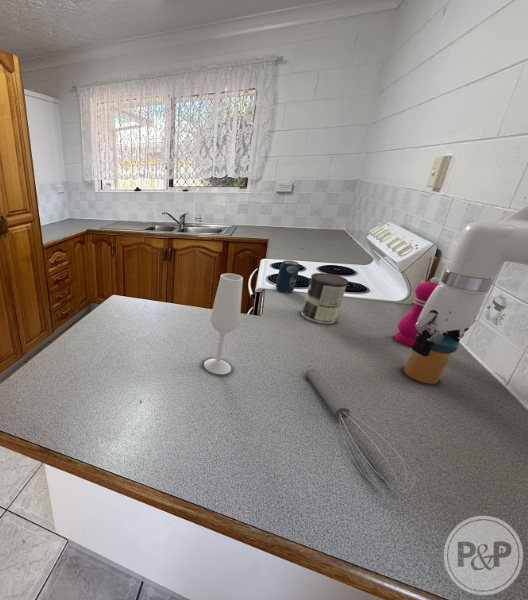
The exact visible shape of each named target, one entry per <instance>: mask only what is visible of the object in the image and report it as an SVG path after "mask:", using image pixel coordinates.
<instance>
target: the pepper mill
mask: <svg viewBox="0 0 528 600" xmlns="http://www.w3.org/2000/svg"><path fill="white" fill-rule="evenodd" d="M439 284H440V278H438V277H436V276H435V277H432V278H430V281H424V282H421V283H419V284H418V285H417V286H416V288H415V290H414V293H415V295H416V296H415V297H414V299H413V300H412V302H413V307H412V308H411V310H410V311H409V312H408V313H407V314H406V315H405V316H404V317H402V318H401V319H400V320H399V321H398V323H397V329H398V331H397V332H396V334H395V337H394V339H395V340H396V341H397V342H398V343H400V344H403V345H405V346H410V347H413V345H414V343H415V341H416V338H417V332H416V327H415V324H416V323H417V322H418V318H419V316H420V314H421V312H422V310H423V308H424V306H425V304H426V302H427V300H428V299H429V297H430V295H431V294H432V292H433V291H434V289H435V288H436V287H437V286H438V285H439ZM430 326H432V324H431V325H430ZM427 331H428V332H432V330H431V329H428V330H427Z"/></svg>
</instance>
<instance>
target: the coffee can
mask: <svg viewBox="0 0 528 600" xmlns="http://www.w3.org/2000/svg"><path fill="white" fill-rule="evenodd" d="M309 281H310V282H309V285H308V288H307V292H306V295H305V296H306V297H305V300H304V303H303V307H302V311H301V316H302V317H303V318H305V319H307V320H308V321H310V322H313V323H318V324H325V325H326V324H327V325H328V324H334V323H335V322H336V321H337V318H338V317H337V316H338V314H339V310H340V307H341V304H342V301H343V298H344V295H345V292H346V289H347V286H348V285H349V279H347V278H345V277H343V276H340V275H337V274H333V273H327V272H315V273H312V274H311V276H310V280H309Z"/></svg>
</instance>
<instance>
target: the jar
mask: <svg viewBox="0 0 528 600" xmlns="http://www.w3.org/2000/svg"><path fill="white" fill-rule="evenodd" d="M453 354H454V353H453V352H452V353H446V352H440V351H436V350H432V349H431V350H430V353H429V355H428V356H422V355H421V354H419V353H417V352H415V351H413V350H412V351H411V353H410V356H409V357H408V359H407V362H406V364H405V366H404V369H403V373H404V374H405V375H407V376H408V377H410V378H411V379H413V380H415V381H417V382H421V383H424V384H429V385H434V384H438V382H439V380H440V379H441V377H442V375H443V373H444V370H445V368H446V367H447V365H448V363H449V361H450V359H451V357H452V355H453Z"/></svg>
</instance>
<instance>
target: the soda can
mask: <svg viewBox="0 0 528 600" xmlns="http://www.w3.org/2000/svg"><path fill="white" fill-rule="evenodd" d="M299 265H300V264H299V262H298V261H294V260H288V259H287V260H285V259H284V260H283V261H282V263H281V264H280V265H279V269H278V273H277V278H276V283H275V288H276V291H278V292H280V293H283V294H290V293H293V291H294V290H295V287H296V283H297V279H298V276H299V272H300V266H299Z"/></svg>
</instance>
